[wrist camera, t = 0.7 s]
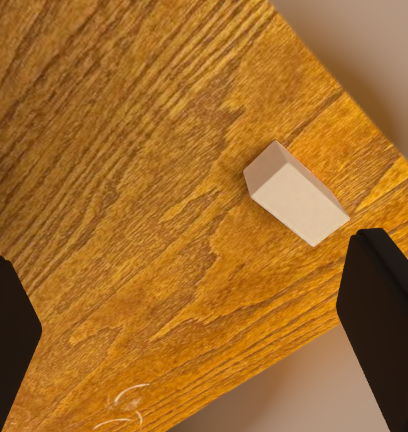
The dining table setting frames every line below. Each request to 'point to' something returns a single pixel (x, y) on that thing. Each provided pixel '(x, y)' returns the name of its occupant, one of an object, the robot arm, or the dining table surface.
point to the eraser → (293, 194)
